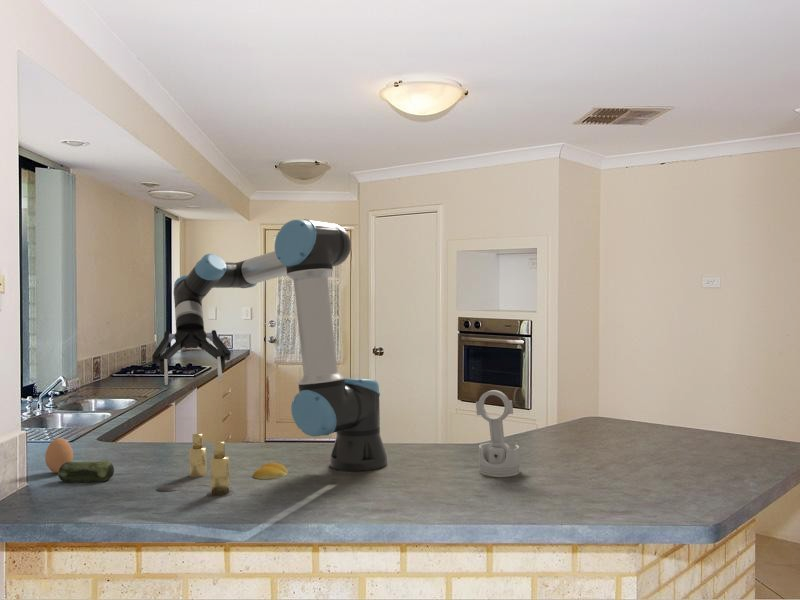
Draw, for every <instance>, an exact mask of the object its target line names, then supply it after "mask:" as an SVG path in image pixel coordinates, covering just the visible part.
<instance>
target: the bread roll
mask: <svg viewBox="0 0 800 600" xmlns="http://www.w3.org/2000/svg"><path fill="white" fill-rule="evenodd" d="M288 474H289V471H288V469H287V467H286V466H285V465H283V464H281V463H278V462H267V463H265V464H263V465H262V466H261V467H259V468H258V469H256V470H255V471H254V472H253V474H252V478H254V479H257V480H273V479H279V478H282V477H286V476H287V475H288Z"/></svg>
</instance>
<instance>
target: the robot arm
mask: <svg viewBox="0 0 800 600" xmlns="http://www.w3.org/2000/svg"><path fill="white" fill-rule="evenodd" d="M275 236H276V237H275V240H274V251H270V252H267V253H264V254H263V253H262V254H260V255H258V256H257V255H256V256H253V257H251V258H248V259H244V260H241V261H238V262H225V260H224V259H222V258H221V257H220V256H219V255H216V254H214V253H207V254H204V255H203V256H202V257H201V258H200V259H199V260H198V261H197V262H196V264H195V266H193V268H192V269H191V270H190V272H189V273H188V275H185V274H184V275H182V276H181V277H177V279H175V281H174V284H173V299H174V302H173V303H174V318H175V333H170V332H169V331H164V335H163V336H164V337H163V338H162V340H161V342H160V343H159V344H158V346H157V348H156V349H155V351H154V353H152V354H151V355H152V356H151V358H152V359H151V362H152V364H159V373H160V374H164V385H165V386H166V385H169V374H168V372H169V370H168V362H169V360H170V359H171V358H172V357H173V356H175V354H176V353H178V351H182V349H183V348H185V349H191V348H192V349H198V348H199V349H200V350H202V351H203V350H204V351H205V352H206V353H208V354H209V355H211V356H212V358H214V359H216V368H217V378H218V382H219V383H221V382H223V372H222V371H225V370H226V361H230V360H231V355H232V352H231V350H229V348H228V347H227V346H226V345H225V343H224V341H222V340H221V339H220V337H219V336H218V334H217V331H216V329H212V330H211V332H206V331H205V323H204V315H203V314H204V312H203V299H204V298H205V297H206V296H207V295H208V294H209V293H210V291H211V290H212V289H214V288H216V289H217V288H218V289H223V288H224V289H225V288H226V289H227V288H233V289H235V288H240V289H248V288H253V287H255V286H256V285H257V284H258V283H261V282H266V281H269V280H273V279H277V278H281V277H283V276H287V277H288V278H290V279H291V280H292V281H293V287H294V296H295V297H294V298H295V305H296V313H297V314H296V315H297V324H298V325H297V326H298V334H299V343H300V344H299V345H300V354H301V355H300V356H301V363H302V373H303V376H302V378H301V379H300V380H299V382H298V383H297V384H298V393H297V394H295V396H294V397H293V400H292V401H291V409H290V411H291V416H292V419H293V421H294V424H295V426H296V427H297V428H298V429H300V430H301V432H302V433H303V434H304V435H306V436H309V437H313V438H314V437H323V436H330V435H331V434H334V433H336V437H335V441H334V444H333V447H332V450H331V454H330V461H329V463H330V466H331V468H333V469H335V470H341V471H349V472H356V471H357V472H359V471H370V470H376V469H380V468H383V467H385V466H387V465H388V454H387V451H386V448H385V444H384V442H383V440H382V437H381V427H380V426H381V423H380V422H381V420H380V419H381V417H380V415H381V414H380V413H381V409H380V396H381V392H380V385H379V382H378V381H377V380H375V379H369V378H354V377H353V378H352V377H351V378H349V377H344V376H343V375H342V374H341V373H340V372H339V371H338V370H339V369H338V362H337V352H336V343H335V336H334V326H333V325H334V324H333V316H332V308H331V307H332V306H331V296H330V288H329V286H330V285H329V276H330V275H331V274H332V273H333V272H334V269H333V268H334V267H337V266H340V265H341V264H343V263H344V262H345V261H346V260H347V258H348V257H349V255H350V253H351V248H352V243H351V238H350V236H349V234H348V232H347V231H346V230H345V229H344V228H343V227H342V226H340V225H338V224H336V223H333V222H324V221H317V220H310V219H305V218H304V219H291V220H289V221H288V222H286V223H284V224H283V225H282V227H281V228H280V230H279V231H278V232H277V234H276V235H275ZM207 339H209V341H210V342H212V344H211V343H210V342H209V341H208V340H207ZM173 340H174V341H175V342H174V343H173V344H172V345H171V346H169V348H167V347H168V345H169V343H171V342H172V341H173ZM166 349H167V350H166Z"/></svg>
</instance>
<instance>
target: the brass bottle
mask: <svg viewBox="0 0 800 600" xmlns="http://www.w3.org/2000/svg"><path fill="white" fill-rule="evenodd" d="M191 437H192V447H190V448H189V453H188V454H189V457H188V458H189V477H190V478H202V477H206V476H207V473H208V472H207V471H208V470H207V447H206V446H204V445H203V443H204V442H203V433H201V432H200V433H199V432H195V433H193V434H192V436H191Z"/></svg>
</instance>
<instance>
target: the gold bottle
mask: <svg viewBox="0 0 800 600" xmlns="http://www.w3.org/2000/svg"><path fill="white" fill-rule="evenodd" d="M209 463H210V486H211V487H210V492H211V495H213V496H223V495H227V494H229V493H230V490H231V487H230V456H228V455H226V442H225V441H224V440H217V441H214V442H213V456H212V457H210V462H209ZM229 487H230V488H229Z"/></svg>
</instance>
